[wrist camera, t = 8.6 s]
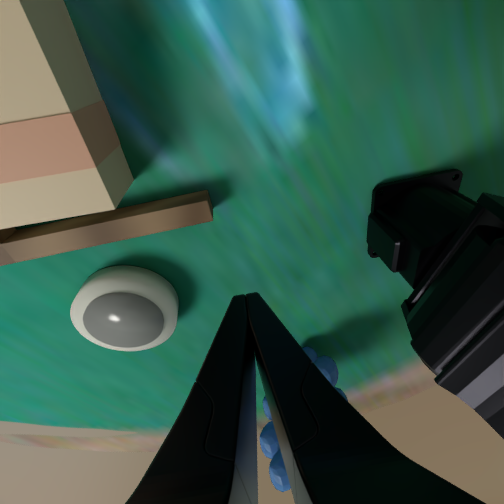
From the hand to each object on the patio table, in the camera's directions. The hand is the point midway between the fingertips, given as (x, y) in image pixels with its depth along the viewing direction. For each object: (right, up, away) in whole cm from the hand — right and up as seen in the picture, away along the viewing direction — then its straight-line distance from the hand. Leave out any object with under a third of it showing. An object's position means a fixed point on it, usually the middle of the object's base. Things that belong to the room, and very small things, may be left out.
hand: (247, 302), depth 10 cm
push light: (-10, -3, +15) cm, 18 cm away
